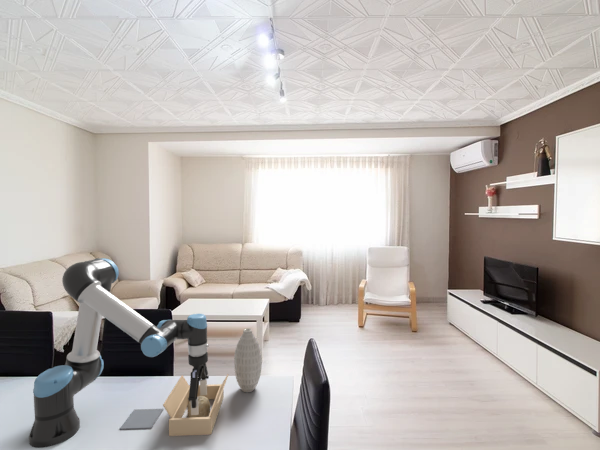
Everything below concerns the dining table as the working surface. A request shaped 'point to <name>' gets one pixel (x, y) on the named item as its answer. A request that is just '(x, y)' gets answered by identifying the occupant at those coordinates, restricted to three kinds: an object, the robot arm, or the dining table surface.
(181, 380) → the carton
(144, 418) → the mat
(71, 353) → the robot arm
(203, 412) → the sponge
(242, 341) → the vase
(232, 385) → the dining table surface
